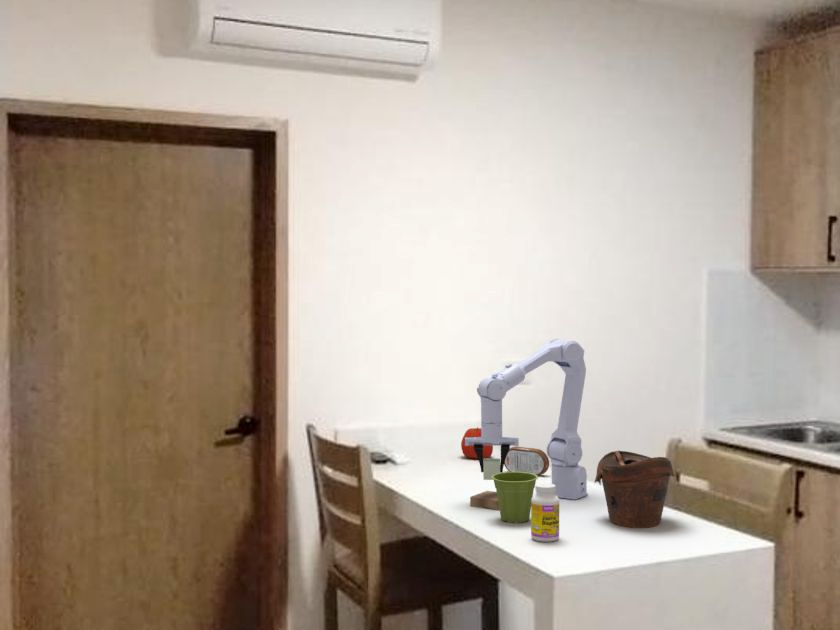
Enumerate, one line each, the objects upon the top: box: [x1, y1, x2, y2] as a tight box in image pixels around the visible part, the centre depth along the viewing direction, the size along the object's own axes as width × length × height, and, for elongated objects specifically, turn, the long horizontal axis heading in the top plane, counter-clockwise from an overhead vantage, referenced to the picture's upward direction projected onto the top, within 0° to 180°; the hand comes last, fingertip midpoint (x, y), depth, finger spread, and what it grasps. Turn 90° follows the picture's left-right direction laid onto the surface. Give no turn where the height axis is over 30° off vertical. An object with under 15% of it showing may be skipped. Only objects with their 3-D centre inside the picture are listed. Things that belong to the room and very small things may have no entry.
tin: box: [504, 446, 550, 477], centre depth 313 cm, size 15×3×8 cm, turn 58°
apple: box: [460, 427, 494, 460], centre depth 341 cm, size 11×11×11 cm
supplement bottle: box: [530, 482, 560, 543], centre depth 237 cm, size 7×7×13 cm
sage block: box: [482, 457, 501, 481], centre depth 273 cm, size 4×4×5 cm
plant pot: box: [492, 471, 539, 524], centre depth 255 cm, size 12×12×11 cm
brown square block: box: [469, 490, 500, 512], centre depth 272 cm, size 9×9×3 cm
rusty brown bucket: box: [594, 450, 675, 529], centre depth 253 cm, size 18×20×18 cm
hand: (491, 471), depth 273 cm, fingers closed on sage block, 4 cm apart
